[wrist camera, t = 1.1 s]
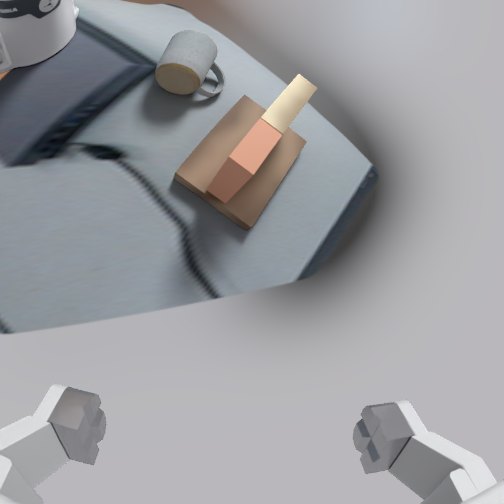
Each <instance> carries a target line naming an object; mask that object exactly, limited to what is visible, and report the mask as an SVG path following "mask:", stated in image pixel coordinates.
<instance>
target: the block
mask: <svg viewBox="0 0 504 504" xmlns="http://www.w3.org/2000/svg"><path fill="white" fill-rule="evenodd" d="M281 136H282V134H280V133H279V132H278V131H277V130H275V129H274V128H273V127H271V126H270V125H269V124H267V123H266V122H265V121H263V120H262V119H261V118H260V119H259V120H258V121H257V122H256V124H255V125H254V126H253V127H252V128H251V130H250V131H249V132H248V133H247V135H246V136H245V137H244V138H243V139H242V141H241V142H240V143H239V144H238V146H237V147H236V148H235V149H234V151H233V152H232V153H231V154H230V156H229V157H228V158H227V160H226V161H225V163H224V164H223V166H222V167H221V169H220V170H219V172H218V173H217V174H216V176H215V177H214V179H213V180H212V182H211V183H210V185H209V186H208V188H207V189H206V190H207V191H209V192H210V193H211V194H213V195H214V196H215V197H217V198H218V199H220V200H221V201H222V202H224V203H225V204H226V203H227V202H228V201H229V199H230V198H231V197H232V196H233V195H234V194H235V193H236V192H237V191H238V190H239V189H240V188H241V187H242V186H243V185H244V184H245V183H246V182H247V181H248V180H249V179H250V178H251V177H252V176H253V175H254V174H255V172H256V171H257V169H258V168H259V167H260V165H261V164H262V162H263V161H264V160H265V158H266V157H267V155H268V154H269V153H270V151H271V150H272V149H273V147H274V146H275V144H276V143H277V142H278V140H279V139H280V138H281Z"/></svg>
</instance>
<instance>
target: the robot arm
mask: <svg viewBox="0 0 504 504" xmlns="http://www.w3.org/2000/svg"><path fill="white" fill-rule="evenodd" d="M78 14H79V9H78V7H75V6H74V4H73V0H0V73H4V72H7V71H9V70H11V69H13V68H16V67H22V66H28V65H32V64H35V63H38V62H41V61H43V60H45V59H47V58H49V57H51V56H52V55H54V54H56V53H57V52H58V51H60V50H61V49H62V48H63V47H64V46H66V45H67V43H68V42H69V41H70V40H71V39H72V37H73V35H74V33H75V30H76V22H75V20H76V18H77V16H78ZM100 404H101V401H100V398H99V395H97V394H94V393H90V392H85V391H82V390H78V389H74V388H71V387H66V386H63V385H59V384H54V385H52V386H51V387H50V389H49V391H48V392H47V394H46V395H45V397H44V399H43V400H42V402H41V403H40V405H39V407H38V408H37V410H36V412H35V413H34V415H33V417H32V416H27V417H25V418H23V419H21V420H19V421H17V422H15V423H13V424H10V425H9V426H6V427H4V428H2V429H0V504H44V502H43V500H42V498H41V497H40V496H39V495H38V494H37V493H36V491H35V490H34V489H33V488H34V487H36V486H37V485H39V484H40V483H41V482H43V481H44V480H45V479H46V478H48V477H49V476H50V475H52V474H53V473H54V472H55V471H57V470H58V469H59V468H61V467H62V466H63V465H64V464H66V463H67V462H68V461H69V459H72V460H75V461H79V462H83V463H87V464H91V465H94V463H95V460H96V457H97V454H98V451H99V448H98V446H97V443H98V442H99V441H101V440H102V439H103V437H104V434H105V429H106V418H105V414H104V412H103V411H102V410H101V409H100V408H99V407H100ZM361 416H362V418H363V419H361V420H360V421H359V422H358V423H357V424H356V426H355V428H354V433H353V440H354V445H355V447H356V449H357V450H358V451H360V452H361V453H362V455H361V458H360V460H361V463H362V466H363V468H364V471H365V473H366V474H368V473H374V472H379V471H385V470H388V471H389V472H390V473H391V474H393V475H394V476H395V477H396V478H398V479H399V480H400V481H401V482H402V483H404V484H405V485H406V486H407V487H409V488H410V489H411V490H412V491H414V492H415V493H416V494H418V495H419V496H420V497H421V498H423V499H424V501H423V502H422V503H421V504H504V479H503V480H501V481H500V482H498V483H497V481H496V480H495V478H494V477H493V475H492V474H491V472H490V470H489V469H488V467H487V466H486V464H485V463H484V461H483V460H482V458H481V457H478V456H477V455H475V454H473V453H471V452H469V451H467V450H465V449H463V448H461V447H459V446H458V445H455V444H454V443H452V442H450V441H448V440H446V439H445V438H443V437H441V436H439V435H437V434H435V433H434V432H432V431H431V432H428V431H427V429H426V428H425V426H424V425H423V423H422V421H421V420H420V418H419V417H418V415H417V413H416V412H415V410H414V409H413V407H412V405H411V404H410V402H408V401H407V400H404V401H398V402H393V403H384V404H378V405H370V406H366V407H365V408H364V409H363V411H362V413H361Z"/></svg>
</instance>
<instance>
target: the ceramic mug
mask: <svg viewBox="0 0 504 504" xmlns="http://www.w3.org/2000/svg"><path fill="white" fill-rule="evenodd" d="M216 56H217V47H216V45H215V43H214V42H213V40H212V39H211V38H209V37H208V36H207V35H205V34H203V33H201V32H198V31H193V30H185V31H181V32H179V33H177V34H175V35H174V36H173V37H172V39H171V40H170V42H169V44H168V46H167V48H166V49H165V51H164V53H163V55H162V57H161V59H160V61H159V63H158V65H157V68H156V71H155V78H156V81H157V82H158V84H159V85H160V86H161V87H162V88H164V89H165V90H167V91H169V92H171V93H175V94H182V95H185V94H190V93H193V92H195V91H196V92H197V93H199V94H200V95H203V96H206V97H212V96H215V95H217V94H218V93H220V92H221V91H222V90H223V88H224V86H225V76H224V74H223V72H222V70H221V69H220V68H219V66H218V65H217V64H216V63H215V62H214V60H215V58H216ZM209 69H211V70H212V71H213V72H214V73H215V75H216V77H217V79H218V85H217V87H216V89H215V90H213V92H211V91H208V90H206V89H204V88H203V87H201V84H202V83H203V81H204V79H205V77H206V75H207V73H208V71H209Z"/></svg>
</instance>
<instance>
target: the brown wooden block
mask: <svg viewBox="0 0 504 504" xmlns="http://www.w3.org/2000/svg"><path fill="white" fill-rule="evenodd" d="M316 89H317V88H316V87H315V86H314V85H312V84H311V83H310V82H309V81H308V80H306V79H305V78H304V77H302V76H301V75H300V74H298V75H297V77H296V78H295V79H294V80H293V81H292V82H291V83H290V84H289V85H288V87H287V88H286V89H285V90H284V91H283V92H282V93H281V94H280V96H279V97H278V98H277V99H276V100H275V101H274V103H273V104H272V105H271V106H270V107H269V108H268V110H265V109H264V108H262V107H261V106H260V105H258V104H257V103H256V102H254V101H253V100H251V99H250V98H249V97H247V96H246V95H244V96H243V97H242V98H241V99H240V100H239V101H238V102H237V103H236V104H235V105H234V106H233V107H232V108H231V109H230V110H229V112H228V113H227V114H226V115H225V116H224V117H223V118H222V119H221V120H220V121H219V122H218V123H217V125H216V126H215V127H214V128H213V129H212V130H211V131H210V132H209V134H208V135H207V136H206V137H205V138H204V139H203V140H202V142H201V143H200V144H199V145H198V146H197V147H196V148H195V150H194V151H193V152H192V153H191V154H190V156H189V157H188V158H187V159H186V160H185V161H184V163H183V164H182V165H181V166H180V168H179V169H178V170H177V171H176V172H175V175H174V179H175V180H177V181H178V182H180V183H181V184H182V185H184V186H185V187H187V188H188V189H189V190H191V191H192V192H194V193H195V194H196V195H198V196H199V197H200V198H202V199H203V200H205V201H206V202H207V203H209V204H210V205H212V206H213V207H214V208H216V209H217V210H218V211H220V212H221V213H223V214H224V215H225V216H227V217H228V218H230V219H231V220H232V221H234V222H235V223H236V224H238V225H239V226H241V227H242V228H243V229H245V230H246V231H247V230H248V229H250V228H252V226H253V224H254V223H255V221H256V220H257V218H258V217H259V215H260V213H261V212H262V210H263V209H264V207H265V206H266V204H267V203H268V201H269V199H270V198H271V196H272V195H273V193H274V192H275V190H276V189H277V187H278V185H279V184H280V182H281V181H282V179H283V178H284V176H285V175H286V173H287V171H288V170H289V168H290V167H291V165H292V164H293V162H294V161H295V159H296V158H297V156H298V155H299V153H300V151H301V150H302V148H303V147H304V145H305V144H306V141H305V140H304V139H303V138H302V137H300V136H299V135H298V134H297V133H295V132H294V131H293V130H291V129H290V128H289V127H288V126H289V125H290V124H291V122H292V121H293V120H294V118H295V117H296V116H297V114H298V113H299V112H300V110H301V109H302V108H303V106H304V105H305V104H306V102H307V101H308V100H309V98H310V97H311V95H312V94H313V93H314V92H315V90H316ZM260 118H261V119H262V120H263V121H265V122H266V123H267V124H269V125H270V126H271V127H273V128H274V129H275V130H277V131H278V132H279V133H280V134H282V136H281V138H280V139H279V140H278V142H277V143H276V144H275V146H274V147H273V149H272V150H271V151H270V153H269V154H268V155H267V157H266V158H265V160H264V161H263V162H262V164H261V165H260V167H259V168H258V169H257V171H256V172H255V174H254V175H253V176H252V177H251V178H250V179H249V180H248V181H247V182H246V183H245V184H244V185H243V186H242V187H241V188H240V189H239V190H238V191H237V192H236V193H235V194H234V195H233V196H232V197H231V198H230V199H229V201H228V202H227V203H226V204H225V203H224V202H222V201H221V200H220V199H218V198H217V197H215V196H214V195H213V194H211V193H210V192H209V191H207V190H206V189H207V188H208V186H209V185H210V183H211V182H212V180H213V179H214V177H215V176H216V174H217V173H218V172H219V170H220V169H221V167H222V166H223V164H224V163H225V161H226V160H227V158H228V157H229V156H230V154H231V153H232V152H233V151H234V149H235V148H236V147H237V146H238V144H239V143H240V142H241V141H242V139H243V138H244V137H245V136H246V135H247V133H248V132H249V131H250V130H251V128H252V127H253V126H254V125H255V124H256V122H257V121H258V120H259V119H260Z"/></svg>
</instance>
